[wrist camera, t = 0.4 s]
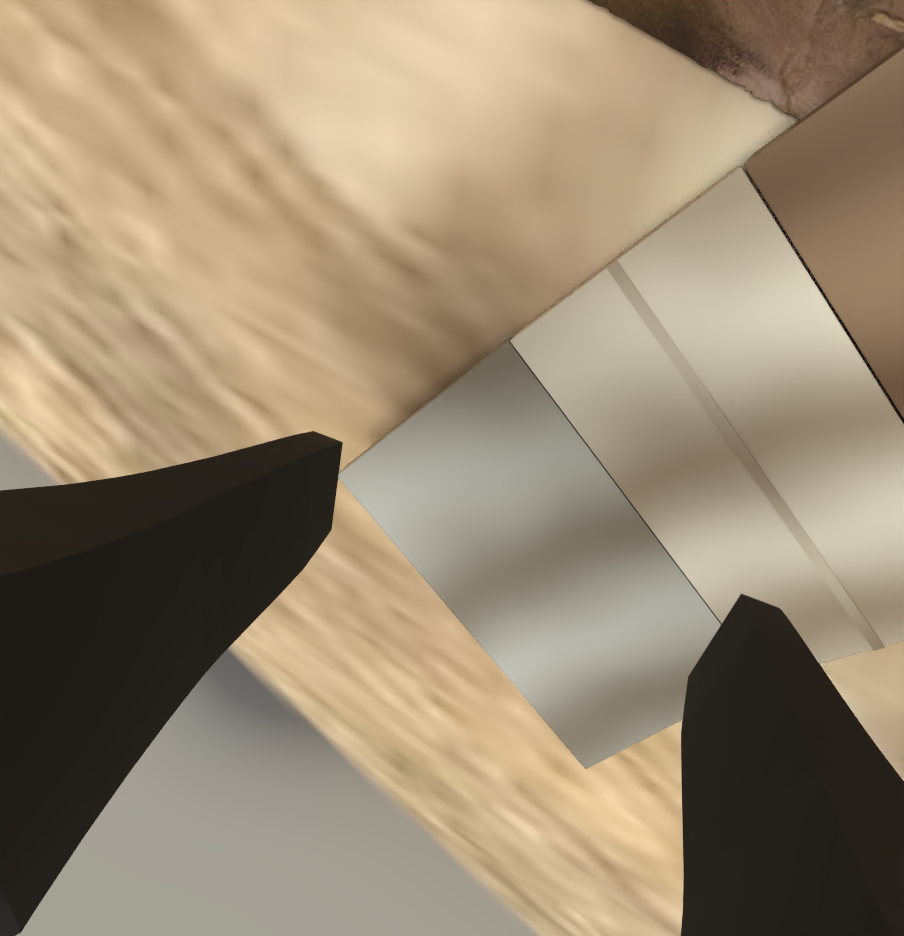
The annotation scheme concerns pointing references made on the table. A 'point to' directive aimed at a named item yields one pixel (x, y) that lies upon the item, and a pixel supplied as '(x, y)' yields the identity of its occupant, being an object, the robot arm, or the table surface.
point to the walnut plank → (850, 208)
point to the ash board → (738, 419)
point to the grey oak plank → (539, 556)
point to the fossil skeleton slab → (775, 41)
